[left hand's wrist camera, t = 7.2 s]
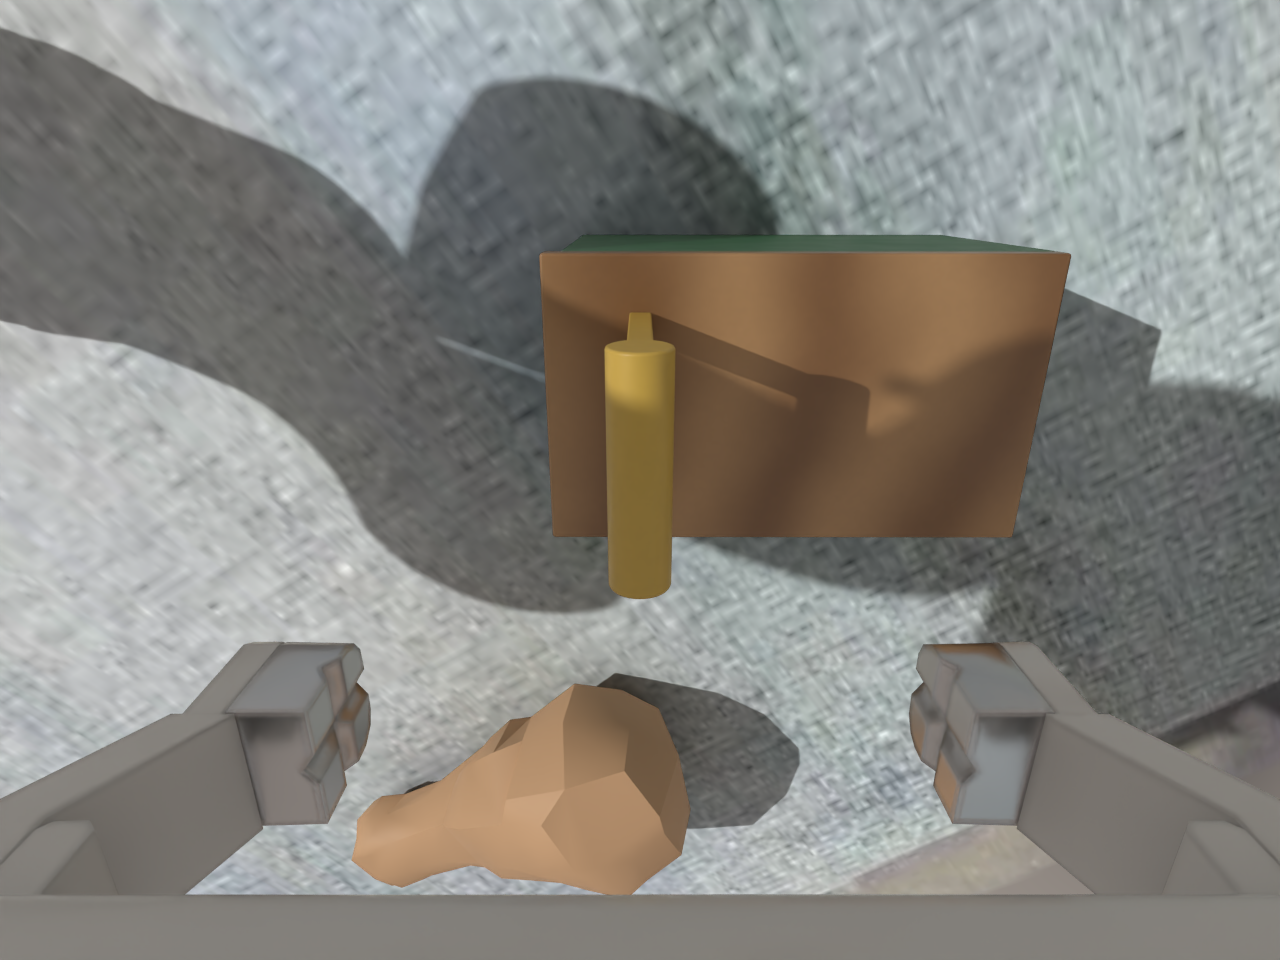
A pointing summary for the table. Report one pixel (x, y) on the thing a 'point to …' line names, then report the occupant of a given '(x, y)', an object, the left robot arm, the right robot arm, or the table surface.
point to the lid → (790, 394)
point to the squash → (544, 802)
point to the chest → (786, 243)
